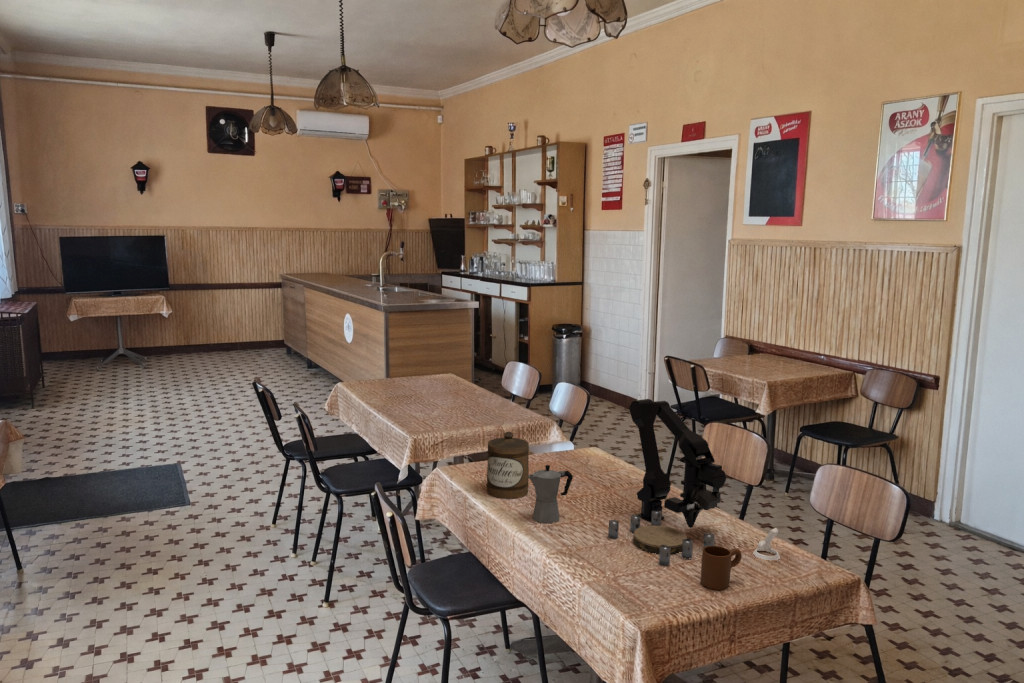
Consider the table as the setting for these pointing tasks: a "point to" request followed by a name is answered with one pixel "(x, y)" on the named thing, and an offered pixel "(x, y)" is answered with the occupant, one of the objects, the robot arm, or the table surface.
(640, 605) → the table surface
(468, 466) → the table surface
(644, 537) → the brown wooden disc
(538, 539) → the table surface
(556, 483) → the coffeepot
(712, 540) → the grey metal cylinder set
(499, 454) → the wooden container
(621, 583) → the table surface
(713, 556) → the mug
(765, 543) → the hook
